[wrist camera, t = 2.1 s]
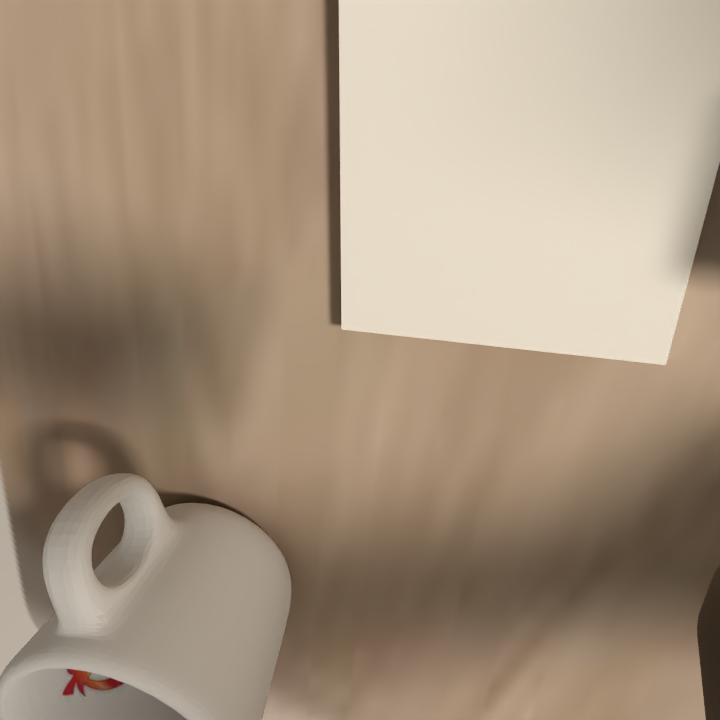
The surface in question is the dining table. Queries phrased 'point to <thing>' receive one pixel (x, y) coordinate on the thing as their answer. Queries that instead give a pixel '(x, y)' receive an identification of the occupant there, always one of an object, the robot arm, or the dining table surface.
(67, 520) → the cup
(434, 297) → the coaster
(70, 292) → the dining table surface
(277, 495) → the dining table surface
